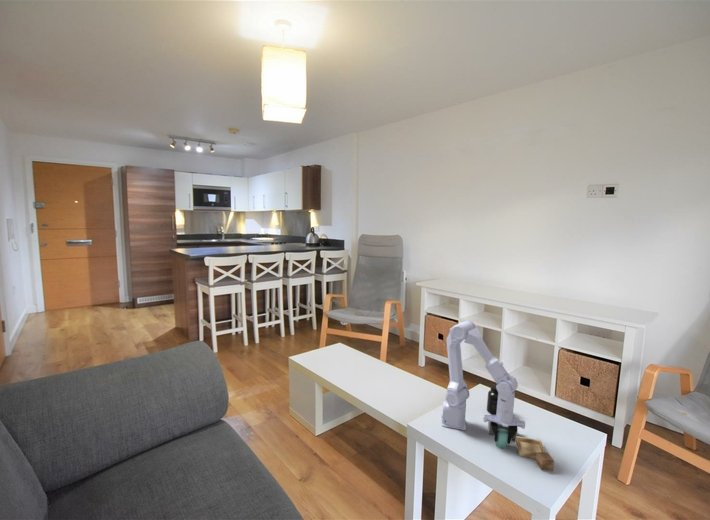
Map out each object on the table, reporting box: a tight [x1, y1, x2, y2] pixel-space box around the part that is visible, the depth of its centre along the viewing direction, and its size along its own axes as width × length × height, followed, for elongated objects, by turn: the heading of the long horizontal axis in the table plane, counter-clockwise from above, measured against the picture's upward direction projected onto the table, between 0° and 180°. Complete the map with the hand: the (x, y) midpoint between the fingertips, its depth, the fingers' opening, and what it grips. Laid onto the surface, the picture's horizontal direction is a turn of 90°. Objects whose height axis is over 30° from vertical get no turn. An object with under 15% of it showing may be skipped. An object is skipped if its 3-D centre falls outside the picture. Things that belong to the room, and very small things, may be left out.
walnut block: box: [535, 451, 555, 471], centre depth 125 cm, size 4×4×4 cm
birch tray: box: [514, 435, 547, 460], centre depth 133 cm, size 9×9×2 cm
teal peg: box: [495, 429, 509, 449], centre depth 136 cm, size 4×4×6 cm
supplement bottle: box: [486, 383, 498, 415], centre depth 158 cm, size 7×7×12 cm
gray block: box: [487, 421, 519, 440], centre depth 143 cm, size 10×5×5 cm, turn 75°
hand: (501, 441), depth 136 cm, fingers closed on teal peg, 4 cm apart
